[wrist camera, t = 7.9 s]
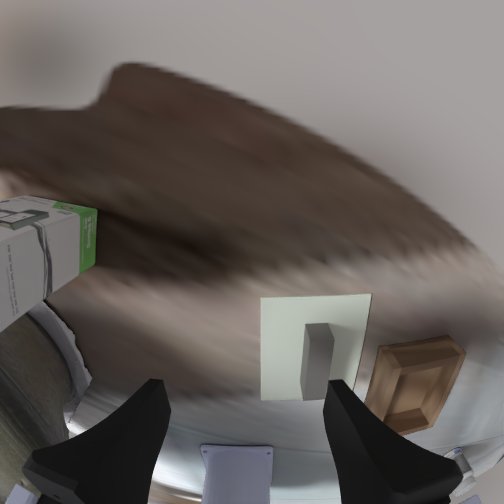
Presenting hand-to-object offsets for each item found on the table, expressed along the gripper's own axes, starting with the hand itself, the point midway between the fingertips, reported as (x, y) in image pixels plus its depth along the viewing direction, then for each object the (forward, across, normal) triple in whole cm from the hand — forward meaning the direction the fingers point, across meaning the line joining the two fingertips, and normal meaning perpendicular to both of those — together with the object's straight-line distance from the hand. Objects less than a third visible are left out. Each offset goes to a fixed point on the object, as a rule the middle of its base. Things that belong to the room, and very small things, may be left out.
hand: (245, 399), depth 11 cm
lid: (+11, -5, +5) cm, 13 cm away
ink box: (+11, +16, -6) cm, 20 cm away
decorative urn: (+11, +26, +8) cm, 29 cm away
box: (+10, -15, +10) cm, 21 cm away
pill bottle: (+11, -32, +32) cm, 46 cm away
